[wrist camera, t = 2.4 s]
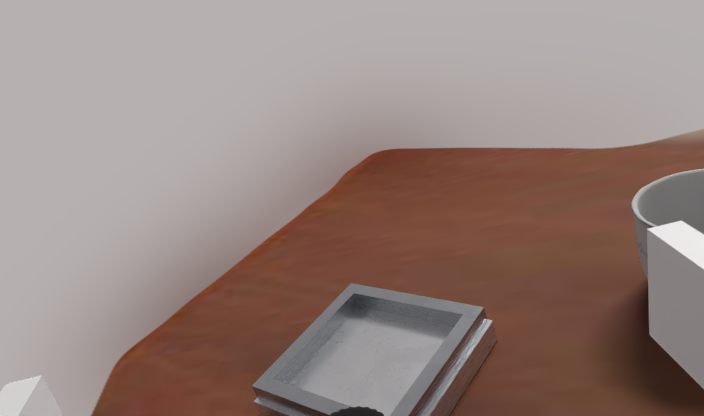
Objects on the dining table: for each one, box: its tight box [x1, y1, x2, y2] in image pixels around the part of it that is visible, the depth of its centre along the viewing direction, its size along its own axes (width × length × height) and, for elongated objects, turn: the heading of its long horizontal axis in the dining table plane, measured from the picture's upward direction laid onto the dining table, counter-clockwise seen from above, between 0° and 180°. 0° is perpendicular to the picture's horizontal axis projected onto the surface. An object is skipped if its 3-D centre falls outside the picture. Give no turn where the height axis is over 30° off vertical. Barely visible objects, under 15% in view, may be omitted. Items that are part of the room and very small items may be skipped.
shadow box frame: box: [252, 283, 497, 416], centre depth 47 cm, size 14×14×4 cm
